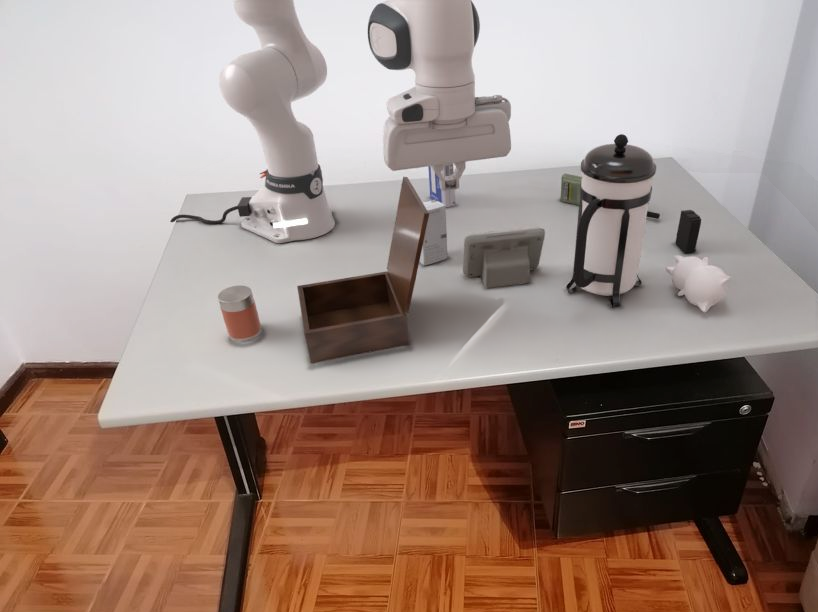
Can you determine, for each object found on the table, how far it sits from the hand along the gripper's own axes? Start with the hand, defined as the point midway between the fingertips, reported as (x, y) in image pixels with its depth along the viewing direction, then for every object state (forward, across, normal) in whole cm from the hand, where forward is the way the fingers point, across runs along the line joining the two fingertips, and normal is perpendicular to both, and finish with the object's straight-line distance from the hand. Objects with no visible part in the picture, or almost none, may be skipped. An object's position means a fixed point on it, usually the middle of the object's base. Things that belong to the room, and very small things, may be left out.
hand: (449, 188), depth 104 cm
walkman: (+25, -11, -51) cm, 58 cm away
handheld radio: (+25, -48, -32) cm, 63 cm away
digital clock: (+25, -13, -11) cm, 30 cm away
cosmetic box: (+25, -1, -23) cm, 33 cm away
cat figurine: (+25, -46, +9) cm, 53 cm away
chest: (+25, +19, 0) cm, 31 cm away
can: (+25, +38, -5) cm, 45 cm away
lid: (+9, +8, 0) cm, 12 cm away
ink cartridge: (+25, -54, -9) cm, 60 cm away
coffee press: (+25, -29, +1) cm, 38 cm away
